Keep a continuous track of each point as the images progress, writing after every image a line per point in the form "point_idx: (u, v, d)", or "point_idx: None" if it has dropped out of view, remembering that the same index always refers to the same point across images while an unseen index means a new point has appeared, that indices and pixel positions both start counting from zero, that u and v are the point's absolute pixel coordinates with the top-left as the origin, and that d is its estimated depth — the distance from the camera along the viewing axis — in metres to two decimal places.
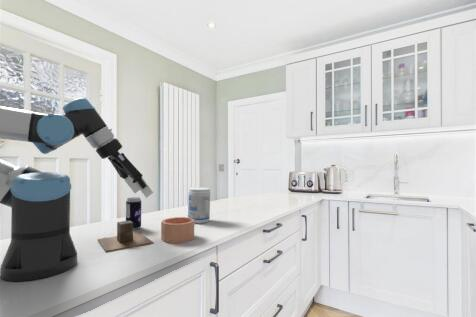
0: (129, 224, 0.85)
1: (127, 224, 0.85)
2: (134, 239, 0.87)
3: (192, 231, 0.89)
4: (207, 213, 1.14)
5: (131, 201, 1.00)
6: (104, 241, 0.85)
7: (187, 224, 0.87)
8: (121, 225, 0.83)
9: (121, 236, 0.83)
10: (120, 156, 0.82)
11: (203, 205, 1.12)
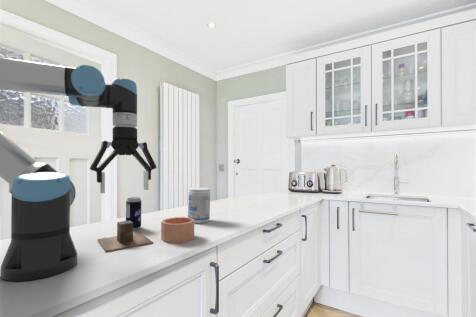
0: (129, 224, 0.85)
1: (127, 224, 0.85)
2: (134, 239, 0.87)
3: (192, 231, 0.89)
4: (207, 213, 1.14)
5: (131, 201, 1.00)
6: (104, 241, 0.85)
7: (187, 224, 0.87)
8: (121, 225, 0.83)
9: (121, 236, 0.83)
10: (102, 142, 0.82)
11: (203, 205, 1.12)
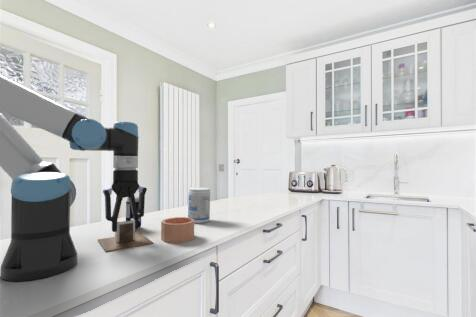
0: (129, 224, 0.85)
1: (127, 224, 0.85)
2: None
3: (192, 231, 0.89)
4: (207, 213, 1.14)
5: None
6: (104, 241, 0.85)
7: (187, 224, 0.87)
8: (121, 225, 0.83)
9: (121, 236, 0.83)
10: (103, 192, 0.82)
11: (203, 205, 1.12)
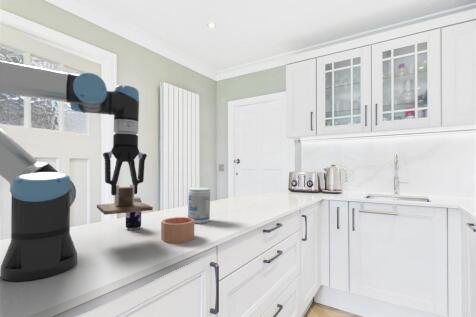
0: (129, 189, 0.85)
1: (127, 189, 0.84)
2: (133, 205, 0.87)
3: (192, 231, 0.89)
4: (207, 213, 1.14)
5: None
6: (103, 205, 0.85)
7: (187, 224, 0.87)
8: (121, 189, 0.83)
9: (120, 200, 0.83)
10: (103, 155, 0.82)
11: (203, 205, 1.12)
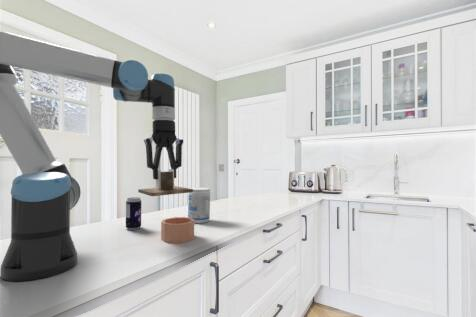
0: (169, 173, 0.89)
1: (167, 172, 0.88)
2: (173, 188, 0.91)
3: (192, 231, 0.89)
4: (207, 213, 1.14)
5: (131, 201, 1.00)
6: None
7: (187, 224, 0.87)
8: (162, 173, 0.87)
9: (162, 183, 0.87)
10: (145, 140, 0.86)
11: (203, 205, 1.12)
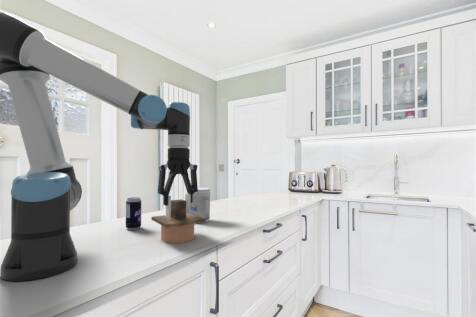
0: (183, 202, 0.90)
1: (181, 202, 0.89)
2: (186, 217, 0.92)
3: (192, 231, 0.89)
4: (207, 213, 1.14)
5: (131, 201, 1.00)
6: (159, 218, 0.90)
7: None
8: (176, 202, 0.88)
9: (176, 213, 0.88)
10: (159, 167, 0.87)
11: (203, 205, 1.12)
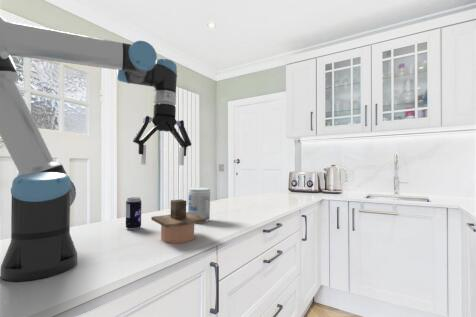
0: (183, 202, 0.90)
1: (181, 202, 0.89)
2: (186, 217, 0.92)
3: (192, 231, 0.89)
4: (207, 213, 1.14)
5: (131, 201, 1.00)
6: (159, 218, 0.90)
7: None
8: (176, 202, 0.88)
9: (176, 213, 0.88)
10: (144, 117, 0.88)
11: (203, 205, 1.12)
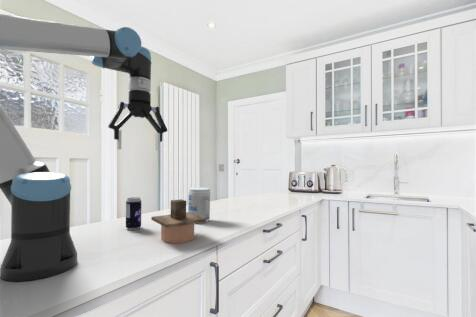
0: (183, 202, 0.90)
1: (181, 202, 0.89)
2: (186, 217, 0.92)
3: (192, 231, 0.89)
4: (207, 213, 1.14)
5: (131, 201, 1.00)
6: (159, 218, 0.90)
7: None
8: (176, 202, 0.88)
9: (176, 213, 0.88)
10: (119, 103, 0.91)
11: (203, 205, 1.12)
